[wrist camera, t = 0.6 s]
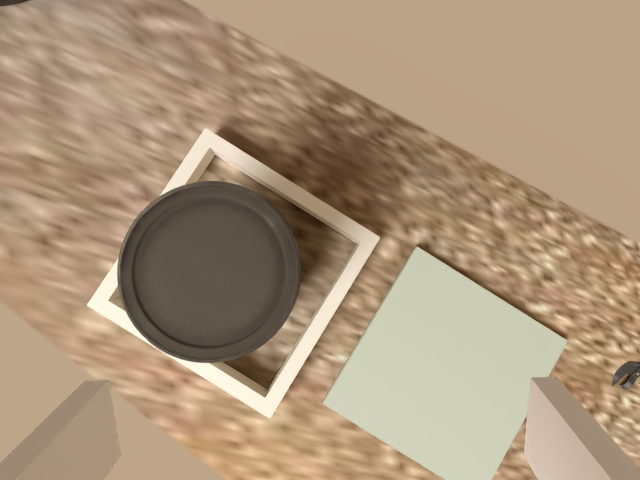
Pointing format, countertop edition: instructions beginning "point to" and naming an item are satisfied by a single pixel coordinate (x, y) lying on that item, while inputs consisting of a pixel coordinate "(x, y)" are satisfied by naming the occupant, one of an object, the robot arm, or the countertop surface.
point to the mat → (444, 371)
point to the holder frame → (269, 399)
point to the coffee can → (209, 272)
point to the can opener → (632, 369)
